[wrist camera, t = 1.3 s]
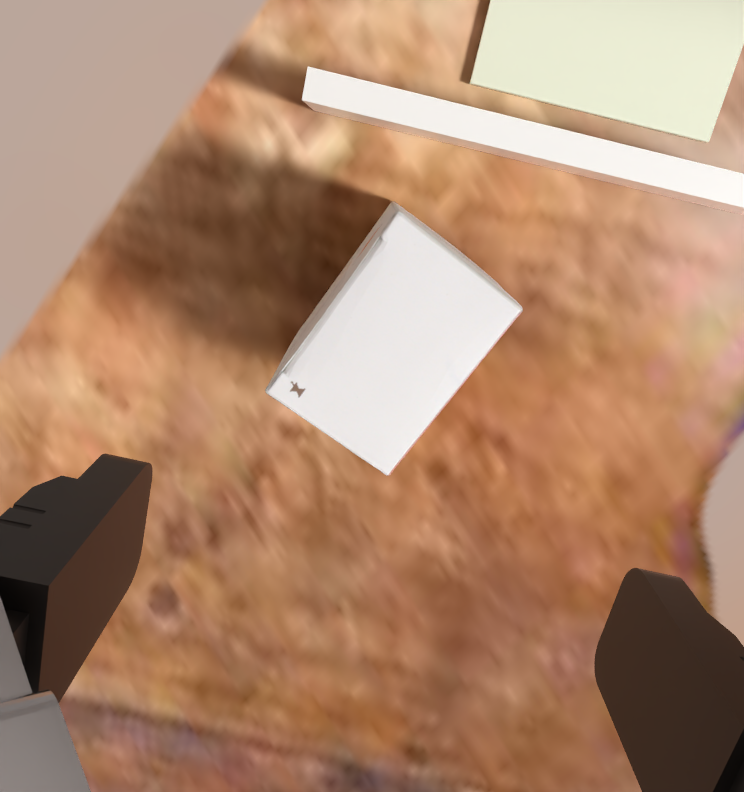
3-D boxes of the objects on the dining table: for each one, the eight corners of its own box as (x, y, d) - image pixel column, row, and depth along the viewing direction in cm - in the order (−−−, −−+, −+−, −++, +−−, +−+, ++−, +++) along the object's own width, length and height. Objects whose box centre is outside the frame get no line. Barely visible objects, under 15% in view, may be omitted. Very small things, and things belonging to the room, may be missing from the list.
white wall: (745, 186, 32) (808, 189, 27) (735, 213, 33) (795, 220, 28) (319, 82, 31) (307, 66, 26) (313, 110, 31) (301, 100, 27)
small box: (385, 396, 36) (386, 484, 26) (295, 331, 35) (259, 396, 25) (486, 269, 34) (530, 310, 24) (393, 196, 33) (397, 207, 23)
